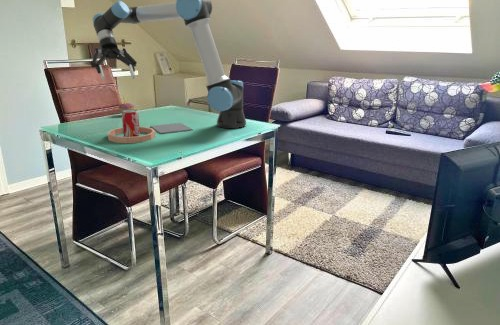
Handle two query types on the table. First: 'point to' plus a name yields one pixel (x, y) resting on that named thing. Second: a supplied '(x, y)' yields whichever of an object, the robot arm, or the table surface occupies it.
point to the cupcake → (125, 106)
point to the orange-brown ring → (131, 139)
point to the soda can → (130, 123)
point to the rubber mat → (170, 128)
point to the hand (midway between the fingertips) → (118, 77)
